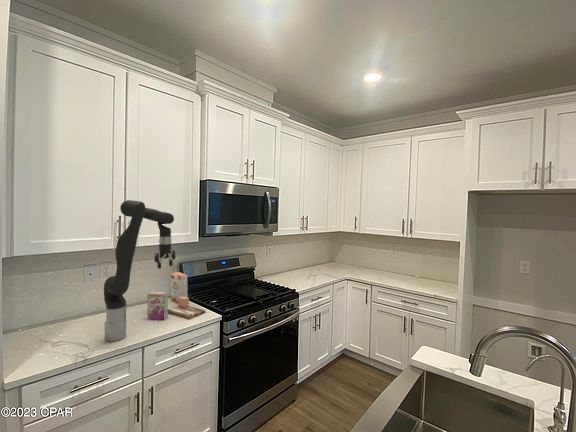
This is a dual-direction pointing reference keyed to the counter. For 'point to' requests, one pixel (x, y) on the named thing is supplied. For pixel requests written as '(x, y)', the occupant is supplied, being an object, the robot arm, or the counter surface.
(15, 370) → the counter surface
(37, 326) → the counter surface
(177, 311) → the board
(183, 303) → the tan block
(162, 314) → the candy bar box
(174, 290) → the cracker box
